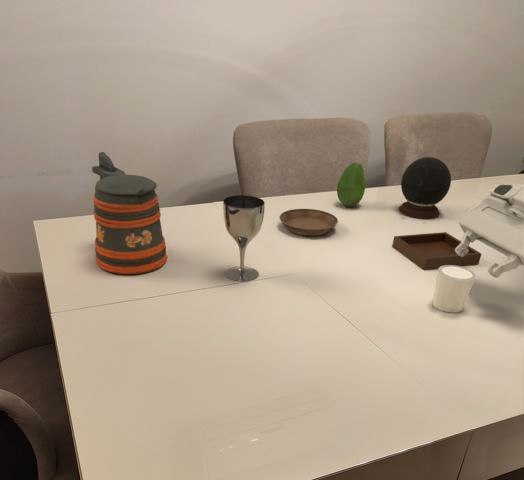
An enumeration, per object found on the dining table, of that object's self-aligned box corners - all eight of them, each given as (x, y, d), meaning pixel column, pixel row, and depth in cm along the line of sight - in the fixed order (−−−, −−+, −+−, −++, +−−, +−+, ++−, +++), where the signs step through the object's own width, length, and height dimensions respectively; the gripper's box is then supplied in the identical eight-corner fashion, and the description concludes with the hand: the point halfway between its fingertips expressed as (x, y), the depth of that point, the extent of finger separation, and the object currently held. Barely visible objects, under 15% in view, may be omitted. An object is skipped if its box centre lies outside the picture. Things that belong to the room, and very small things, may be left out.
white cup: (432, 293, 100) (441, 261, 97) (468, 302, 98) (478, 269, 94) (426, 308, 95) (434, 274, 91) (463, 317, 93) (474, 283, 89)
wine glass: (257, 284, 100) (260, 210, 92) (218, 279, 101) (218, 205, 93) (263, 267, 107) (267, 197, 98) (227, 263, 108) (228, 193, 99)
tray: (443, 241, 125) (445, 231, 123) (478, 264, 114) (481, 253, 113) (391, 246, 120) (394, 236, 119) (423, 270, 110) (426, 259, 108)
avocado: (367, 206, 145) (374, 163, 139) (352, 212, 140) (359, 168, 134) (344, 199, 150) (349, 157, 143) (329, 205, 144) (334, 162, 138)
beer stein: (74, 250, 109) (57, 155, 98) (133, 236, 117) (124, 146, 106) (118, 282, 98) (105, 177, 87) (180, 263, 106) (176, 166, 95)
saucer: (295, 242, 120) (296, 231, 118) (269, 221, 131) (270, 211, 129) (347, 235, 125) (349, 225, 123) (318, 216, 136) (319, 206, 135)
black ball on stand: (396, 202, 150) (407, 149, 141) (442, 208, 147) (455, 155, 139) (394, 216, 139) (405, 160, 131) (443, 223, 136) (457, 166, 128)
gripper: (585, 241, 85) (520, 298, 87) (499, 203, 101) (447, 252, 103) (576, 217, 81) (509, 278, 84) (489, 181, 97) (434, 233, 99)
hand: (474, 263), depth 93 cm, fingers open, 8 cm apart
